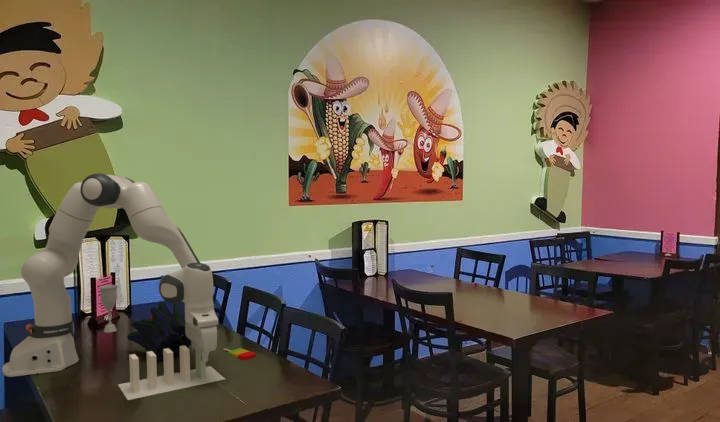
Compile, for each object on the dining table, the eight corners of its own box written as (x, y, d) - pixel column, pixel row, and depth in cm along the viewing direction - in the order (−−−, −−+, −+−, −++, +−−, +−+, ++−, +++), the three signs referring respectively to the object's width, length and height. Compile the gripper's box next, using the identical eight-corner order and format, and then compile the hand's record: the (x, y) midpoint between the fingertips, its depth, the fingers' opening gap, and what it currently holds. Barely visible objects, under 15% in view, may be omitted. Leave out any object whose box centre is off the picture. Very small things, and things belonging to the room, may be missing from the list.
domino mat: (127, 401, 165) (127, 400, 165) (117, 385, 177) (117, 384, 177) (225, 380, 181) (225, 379, 181) (210, 367, 193) (210, 366, 193)
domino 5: (200, 372, 186) (200, 342, 186) (206, 377, 182) (205, 346, 181) (196, 373, 186) (195, 343, 185) (201, 378, 181) (200, 347, 181)
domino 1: (134, 392, 170) (133, 359, 169) (130, 387, 174) (129, 354, 174) (139, 391, 171) (138, 358, 170) (135, 386, 175) (134, 353, 175)
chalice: (123, 329, 236) (121, 286, 235) (108, 334, 230) (106, 289, 229) (112, 327, 240) (110, 284, 238) (97, 331, 234) (95, 287, 233)
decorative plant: (152, 388, 199) (131, 343, 222) (221, 349, 209) (194, 310, 232) (128, 344, 188) (109, 302, 212) (201, 305, 198) (175, 269, 222)
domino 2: (151, 389, 173) (150, 356, 172) (147, 383, 177) (146, 351, 176) (157, 387, 174) (156, 355, 173) (152, 382, 178) (151, 351, 177)
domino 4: (185, 382, 179) (184, 350, 178) (180, 377, 183) (179, 346, 182) (190, 381, 179) (189, 349, 179) (185, 376, 184) (184, 345, 183)
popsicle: (244, 362, 199) (244, 356, 199) (217, 353, 209) (217, 348, 209) (257, 358, 204) (257, 352, 203) (230, 349, 213) (229, 344, 213)
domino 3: (168, 385, 176) (167, 353, 175) (164, 380, 180) (163, 349, 179) (174, 384, 177) (173, 352, 176) (169, 379, 181) (168, 348, 180)
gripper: (179, 309, 189) (180, 350, 190) (200, 323, 172) (201, 369, 173) (198, 306, 193) (199, 347, 194) (220, 320, 176) (221, 365, 177)
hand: (200, 357), depth 183 cm, fingers open, 7 cm apart
